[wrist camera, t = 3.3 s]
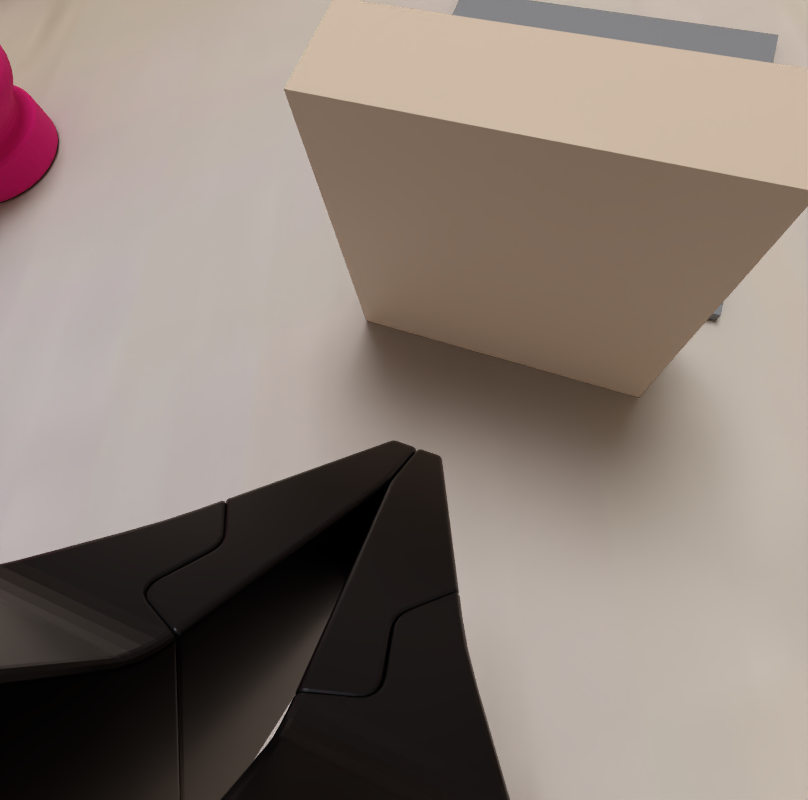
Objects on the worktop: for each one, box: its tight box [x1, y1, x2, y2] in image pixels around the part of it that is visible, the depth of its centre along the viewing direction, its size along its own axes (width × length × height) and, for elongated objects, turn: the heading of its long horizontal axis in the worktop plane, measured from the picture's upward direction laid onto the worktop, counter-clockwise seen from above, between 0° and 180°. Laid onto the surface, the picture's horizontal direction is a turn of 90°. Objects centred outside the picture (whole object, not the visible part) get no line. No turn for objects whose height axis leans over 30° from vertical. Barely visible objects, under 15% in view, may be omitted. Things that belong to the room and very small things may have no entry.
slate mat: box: [453, 0, 778, 320], centre depth 24 cm, size 15×15×1 cm
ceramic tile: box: [284, 0, 808, 397], centre depth 17 cm, size 3×11×11 cm, turn 70°
